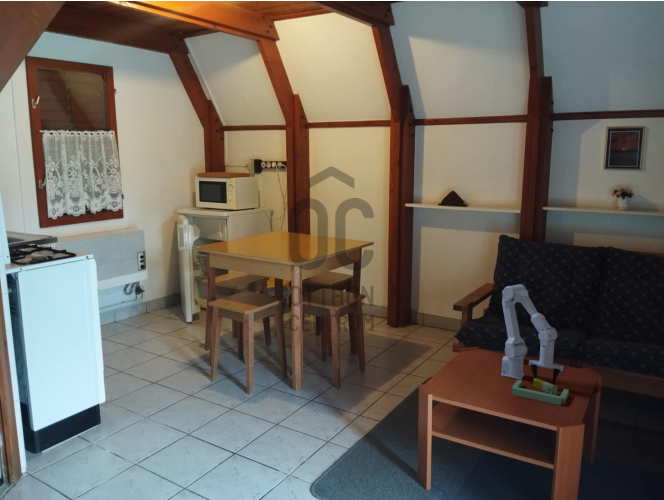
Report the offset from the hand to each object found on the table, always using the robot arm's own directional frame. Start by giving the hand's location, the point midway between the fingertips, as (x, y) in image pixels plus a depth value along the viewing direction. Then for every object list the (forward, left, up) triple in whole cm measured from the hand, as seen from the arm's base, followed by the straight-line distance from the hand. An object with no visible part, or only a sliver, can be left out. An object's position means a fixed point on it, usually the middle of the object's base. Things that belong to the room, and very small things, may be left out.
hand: (544, 382), depth 252 cm
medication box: (+1, -5, -2) cm, 6 cm away
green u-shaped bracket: (0, -11, -2) cm, 11 cm away
